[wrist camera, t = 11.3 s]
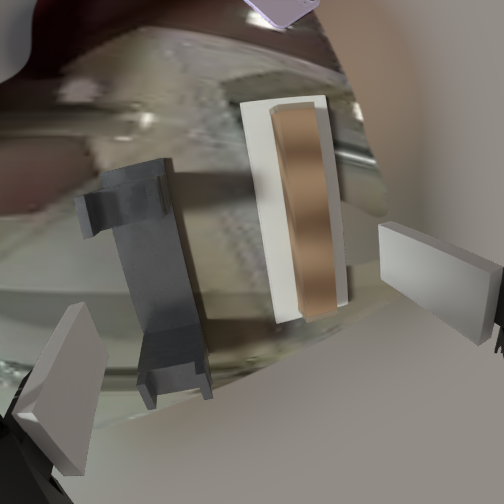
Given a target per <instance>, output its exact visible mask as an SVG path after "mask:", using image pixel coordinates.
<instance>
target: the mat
mask: <svg viewBox="0 0 504 504" xmlns="http://www.w3.org/2000/svg"><path fill="white" fill-rule="evenodd" d="M313 101H314V105H315V108H314V109H315V115H316V120H317V127H318V133H319V139H320V146H321V152H322V159H323V167H324V174H325V182H326V189H327V198H328V206H329V215H330V224H331V234H332V244H333V255H334V267H335V280H336V295H337V307H340V306H343V305H346V304H348V291H347V273H346V259H345V245H344V233H343V224H342V213H341V203H340V194H339V185H338V177H337V169H336V162H335V155H334V148H333V141H332V134H331V128H330V122H329V116H328V110H327V104H326V98H325V95H319V96H303V97H290V98H279V99H269V100H260V101H252V102H244V103H240V108H241V114H242V120H243V125H244V131H245V137H246V143H247V149H248V155H249V160H250V166H251V172H252V178H253V184H254V190H255V196H256V202H257V208H258V215H259V221H260V227H261V233H262V239H263V245H264V251H265V258H266V264H267V270H268V277H269V283H270V289H271V296H272V302H273V308H274V315H275V321H276V323H277V324H278V323H282V322H286V321H290V320H293V319H297V318H301V317H302V315H301V314H300V313H299V311H298V300H297V292H296V284H295V276H294V268H293V261H292V253H291V246H290V238H289V231H288V224H287V217H286V210H285V203H284V197H283V190H282V183H281V177H280V170H279V164H278V158H277V152H276V145H275V139H274V133H273V127H272V122H271V116H270V114H269V109H271V108H272V107H274V106H276V105H278V104H288V103H300V102H313Z"/></svg>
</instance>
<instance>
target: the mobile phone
mask: <svg viewBox="0 0 504 504" xmlns="http://www.w3.org/2000/svg"><path fill="white" fill-rule="evenodd" d="M244 1H245V2H246V3H247V4H248V5H249V6H251V7H252V8H253V9H254V10H255V11H256V12H257V13H258V14H260V15H261V16H262V17H263V18H264V19H265V20H266V21H267V22H268V23H269V24H270V25H272V26H273V27H275V28H277V29H283V28H286V27H287V26H289V25H290V24H292V23H293V22H295V21H296V20H298V19H299V18H301V17H302V16H304V15H305V14H307V13H308V12H310V11H311V10H313V9H315V8H316V7H317V6H319V4H320V0H244Z"/></svg>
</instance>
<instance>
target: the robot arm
mask: <svg viewBox="0 0 504 504" xmlns="http://www.w3.org/2000/svg"><path fill="white" fill-rule="evenodd" d="M378 231H379V246H380V269H381V280H383V281H385V282H386V283H388V284H389V285H391V286H392V287H394V288H395V289H397V290H398V291H400V292H401V293H403V294H404V295H406V296H407V297H409V298H410V299H411V300H413V301H414V302H416V303H417V304H419V305H420V306H422V307H423V308H425V309H426V310H428V311H429V312H431V313H432V314H433V315H435V316H436V317H438V318H439V319H441V320H442V321H444V322H445V323H446V324H448V325H449V326H451V327H452V328H453V329H455V330H456V331H458V332H459V333H461V334H462V335H463V336H465V337H466V338H468V339H469V340H470V341H472V342H473V343H475V344H476V345H477V346H479V345H481V344H482V343H484V342H485V341H486V340H488V339H489V338H491V335H492V330H493V326H494V322H495V323H496V324H498V325H499V326H500V330H499V334H498V338H497V342H496V347H495V353H497V351H498V348H499V347H500V346H501V348H502V350H501V353H503V357H504V267H503V266H501V265H498V264H496V263H494V262H492V261H490V260H487V259H485V258H483V257H480V256H478V255H475V254H473V253H471V252H469V251H466V250H464V249H462V248H459V247H456V246H454V245H452V244H449V243H447V242H445V241H442V240H440V239H437V238H434V237H432V236H429V235H427V234H424V233H422V232H419V231H416V230H414V229H411V228H409V227H406V226H403V225H401V224H398V223H395V222H393V221H389V222H385V223H382V224H378ZM107 360H108V354H107V351H106V349H105V347H104V345H103V343H102V341H101V339H100V336H99V334H98V332H97V330H96V328H95V325H94V323H93V321H92V318H91V316H90V314H89V311H88V309H87V307H86V304H85V302H81V303H77V304H73V305H69V307H68V308H67V310H66V312H65V313H64V315H63V317H62V318H61V320H60V322H59V323H58V325H57V327H56V329H55V330H54V332H53V334H52V335H51V337H50V339H49V341H48V343H47V344H46V346H45V348H44V350H43V352H42V353H41V355H40V357H39V359H38V361H37V363H36V365H35V367H34V369H33V370H31V371H30V372H29V373H28V374H27V375H26V376H25V377H24V378H23V380H22V382H21V384H20V386H19V388H18V391H17V392H16V394H15V396H14V398H13V400H12V402H11V404H10V406H9V408H8V410H7V412H6V414H5V417H4V419H3V417H2V416H1V415H0V504H74V503H73V502H72V501H71V499H70V498H69V497H68V495H67V494H66V493H65V491H64V490H63V488H62V487H61V485H60V484H59V482H58V481H57V480H56V479H55V478H54V477H53V476H52V475H51V473H52V468H53V465H54V466H55V467H56V468H57V469H58V471H59V472H60V473H61V474H62V475H63V476H84V473H85V466H86V460H87V454H88V448H89V442H90V437H91V431H92V426H93V421H94V416H95V411H96V407H97V402H98V397H99V393H100V389H101V384H102V380H103V376H104V372H105V368H106V364H107Z"/></svg>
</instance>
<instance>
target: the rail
mask: <svg viewBox="0 0 504 504" xmlns="http://www.w3.org/2000/svg"><path fill="white" fill-rule="evenodd" d="M314 108H315V105H314V101H313V102H300V103H288V104H278V105H276V106H274V107H272V108H271V109H269V114H270V116H271V122H272V127H273V133H274V139H275V145H276V152H277V158H278V164H279V170H280V177H281V183H282V190H283V197H284V203H285V210H286V217H287V224H288V231H289V238H290V246H291V253H292V261H293V268H294V276H295V284H296V292H297V300H298V311H299V313H300V314H301V315H302V317H303V318H304V319H305V320H306V322H307V323H310V322H313V321H317V320H320V319H324V318H327V317H331V316H334V315H337V314H338V309H337V295H336V280H335V267H334V255H333V244H332V234H331V224H330V215H329V206H328V198H327V189H326V182H325V174H324V167H323V159H322V152H321V146H320V139H319V133H318V127H317V120H316V115H315V109H314Z"/></svg>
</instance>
